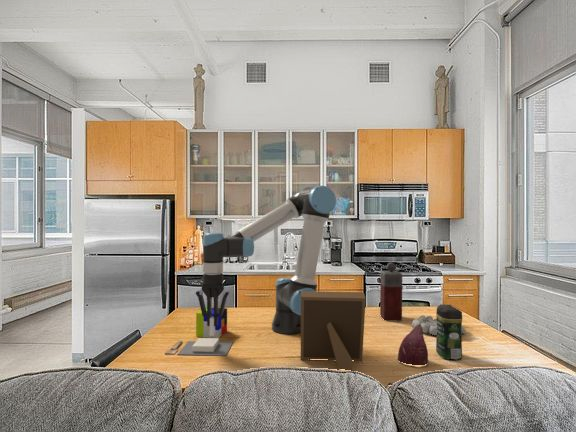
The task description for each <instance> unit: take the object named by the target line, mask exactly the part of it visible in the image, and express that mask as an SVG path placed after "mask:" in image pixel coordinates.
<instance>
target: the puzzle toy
mask: <svg viewBox="0 0 576 432" xmlns="http://www.w3.org/2000/svg"><path fill="white" fill-rule="evenodd" d="M205 307H206V311H207V306H205ZM219 310H220V307H218V313H219ZM195 315H196V316H195V317H196V318H195V324H196V325H195V332H196V333H195V337H197V338H219V339H220V337H221V336H222V335H224V334H225V333H227V331H228V308H227V307H224V311H223V314H222V316H221V317H218V325H217V326H215V334H214V336H210V326H207V317H205V316H202V312H201V309H199V311H197V312H196V313H195ZM211 317H214V306H213V307H212V313H211Z"/></svg>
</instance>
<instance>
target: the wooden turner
mask: <svg viewBox="0 0 576 432" xmlns="http://www.w3.org/2000/svg"><path fill="white" fill-rule="evenodd" d="M181 344H183V340H177V341H176V342H175V343H174V345H172V347H171V348H169V349H167V350H166V351H165V352H164V355H168V356H169V355H173V356H174V355H175V354H176V353H178V352H179V349H178V348H179V347H180V346H181Z"/></svg>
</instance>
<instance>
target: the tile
mask: <svg viewBox="0 0 576 432" xmlns="http://www.w3.org/2000/svg"><path fill="white" fill-rule="evenodd" d="M195 341H196V342H195V343H194V345H193V346H192V351H193V352H214V351H215V349H216V347H217V346H218V344H219V342H220V337H219V338H211V337H197V340H195Z"/></svg>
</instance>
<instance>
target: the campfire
mask: <svg viewBox="0 0 576 432" xmlns="http://www.w3.org/2000/svg"><path fill="white" fill-rule="evenodd" d="M419 324H421V326H422V330H423V334H428V333H429V335H431V334H432V335H431V336H433V335H434V336H435V335H437V317H436V318H433V316H432V315H428V316H425V315H420V316H419V317H418V318H415V319H413V320H412V322H411V328H412V329H414V328H415V327H416V326H417V325H419ZM461 332H462V333H465V334H466V333H467V330H466V329H465V327H464V326H463V325H462V327H461Z"/></svg>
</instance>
